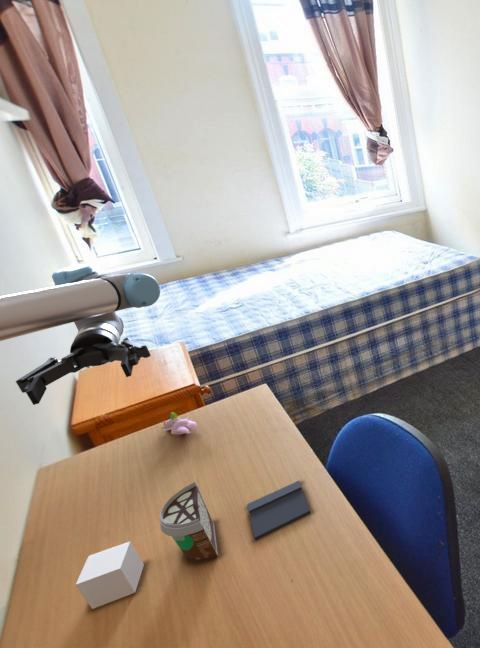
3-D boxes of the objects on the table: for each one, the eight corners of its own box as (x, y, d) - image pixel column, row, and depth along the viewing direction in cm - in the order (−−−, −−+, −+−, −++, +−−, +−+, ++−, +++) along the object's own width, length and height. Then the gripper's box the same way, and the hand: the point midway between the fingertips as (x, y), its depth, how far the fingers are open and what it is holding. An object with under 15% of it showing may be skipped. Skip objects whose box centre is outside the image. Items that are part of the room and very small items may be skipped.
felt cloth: (255, 540, 87) (253, 535, 87) (248, 507, 95) (247, 503, 94) (310, 512, 92) (309, 508, 92) (300, 483, 100) (298, 479, 99)
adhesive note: (135, 592, 79) (120, 568, 77) (92, 609, 77) (75, 584, 75) (144, 564, 84) (130, 540, 82) (104, 579, 82) (88, 555, 80)
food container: (177, 535, 90) (156, 496, 86) (213, 518, 93) (194, 480, 89) (178, 582, 80) (155, 540, 76) (218, 561, 83) (198, 520, 79)
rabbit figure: (160, 435, 123) (182, 444, 114) (149, 415, 122) (171, 424, 113) (185, 421, 128) (208, 430, 119) (175, 403, 126) (198, 410, 117)
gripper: (169, 341, 111) (168, 376, 94) (29, 379, 98) (0, 428, 82) (156, 312, 108) (153, 343, 91) (11, 348, 95) (-23, 392, 79)
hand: (80, 383), depth 86 cm, fingers open, 13 cm apart
